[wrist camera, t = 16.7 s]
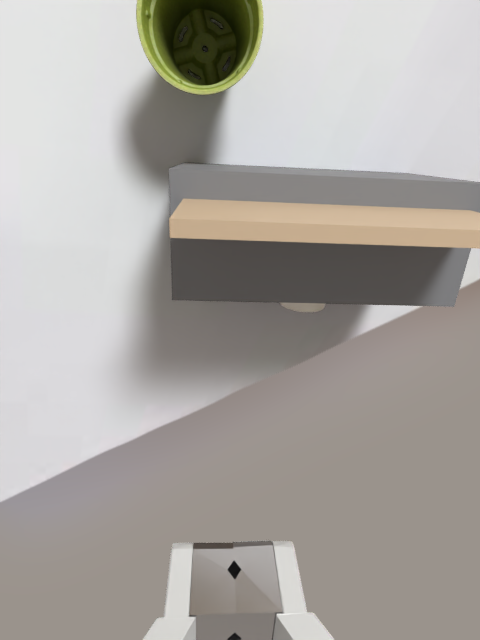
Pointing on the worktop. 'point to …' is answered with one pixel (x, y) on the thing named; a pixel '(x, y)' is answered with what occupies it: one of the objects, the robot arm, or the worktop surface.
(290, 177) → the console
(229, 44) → the plant pot
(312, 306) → the middle button
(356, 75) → the worktop surface
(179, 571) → the robot arm
